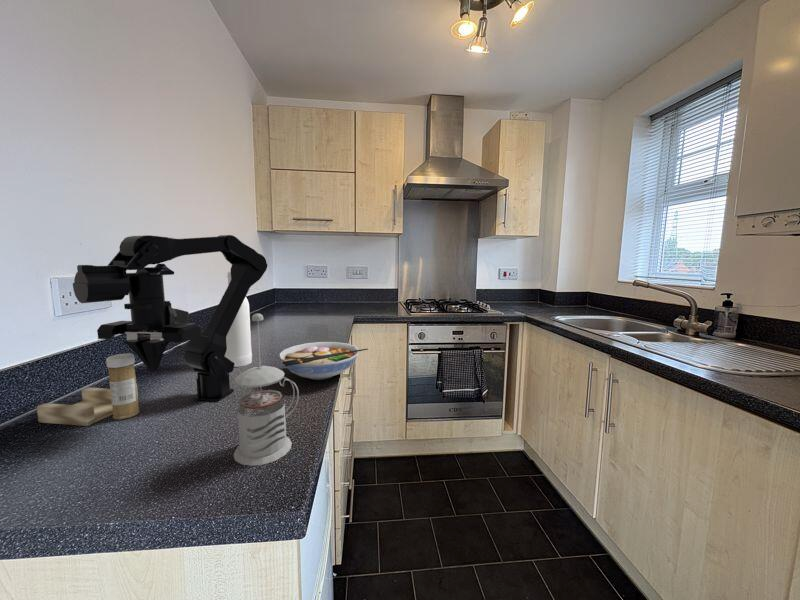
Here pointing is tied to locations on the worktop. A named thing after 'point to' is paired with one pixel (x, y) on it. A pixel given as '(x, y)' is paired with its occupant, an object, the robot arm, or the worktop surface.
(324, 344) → the ramen bowl
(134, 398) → the sprinkles bottle
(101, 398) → the bottle rest
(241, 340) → the bottle
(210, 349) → the robot arm
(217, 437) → the worktop surface
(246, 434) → the french press
